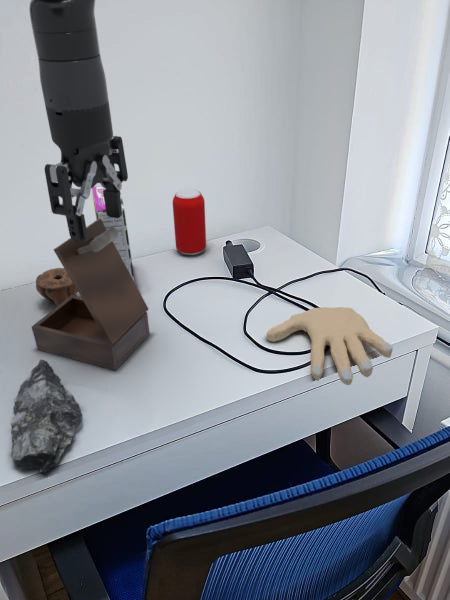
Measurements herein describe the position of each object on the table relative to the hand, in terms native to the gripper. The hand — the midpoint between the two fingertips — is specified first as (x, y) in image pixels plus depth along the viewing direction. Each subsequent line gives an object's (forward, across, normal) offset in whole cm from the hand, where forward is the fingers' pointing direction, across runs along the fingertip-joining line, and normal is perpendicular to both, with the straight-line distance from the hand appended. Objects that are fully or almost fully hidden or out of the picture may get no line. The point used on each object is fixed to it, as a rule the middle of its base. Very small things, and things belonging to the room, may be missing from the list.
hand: (98, 228), depth 80 cm
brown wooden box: (+20, 0, -4) cm, 20 cm away
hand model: (+20, -22, +28) cm, 41 cm away
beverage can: (+20, -36, -4) cm, 41 cm away
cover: (+8, 0, -1) cm, 8 cm away
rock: (+23, +19, +3) cm, 30 cm away
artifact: (+20, -8, -17) cm, 28 cm away
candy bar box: (+20, -19, -11) cm, 30 cm away
